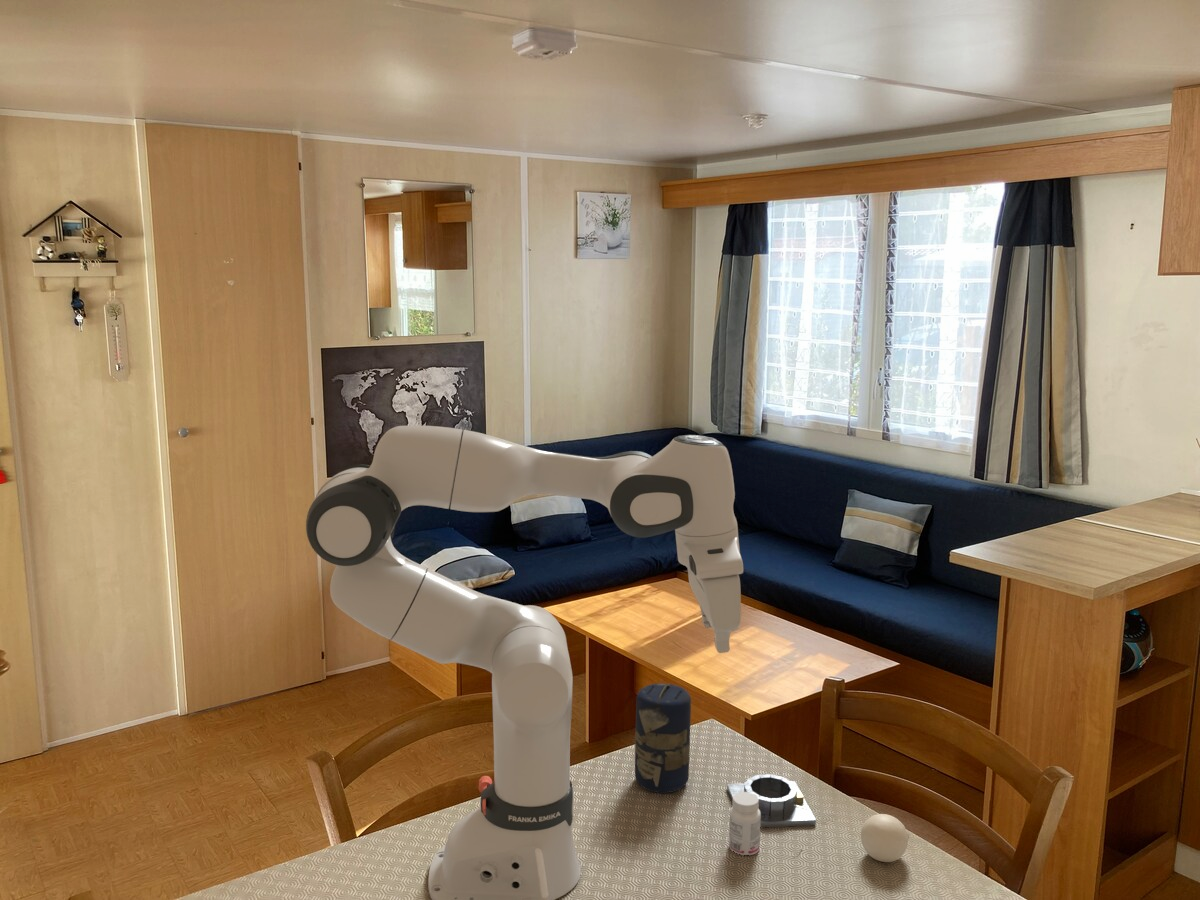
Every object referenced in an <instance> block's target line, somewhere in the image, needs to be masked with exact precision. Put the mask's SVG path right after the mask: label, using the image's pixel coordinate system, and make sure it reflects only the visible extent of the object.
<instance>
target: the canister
mask: <svg viewBox="0 0 1200 900" xmlns="http://www.w3.org/2000/svg"><path fill="white" fill-rule="evenodd" d="M635 704H636V705H635V708H636V709H635V735H634V738H635V739H634V776H635V780H636V781H637V783H638V784H639V786H641V787H642V788H644V789H646V790H648V791H651V792H655V793H672V792H676V791H678V790H681V789H682V788H684V787H685V786H686V784H687V783H688V781H689V777H690V749H691V747H690V746H691V720H692V719H691V716H692V715H691V713H692V711H691V710H692V697H691V695H690V693H689V692H688V691H687V690H686V689H685V688H683V687H681V686H679V685H675V684H672V683H665V682H664V683H652V684H648V685H645V686H643V687H642V688H641V689H639V691H638V692H637V694H636V702H635Z"/></svg>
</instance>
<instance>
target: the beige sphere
mask: <svg viewBox="0 0 1200 900" xmlns="http://www.w3.org/2000/svg"><path fill="white" fill-rule="evenodd" d="M906 829H907V827H905V825H904V824H903V823H902V822H901V821H900V820H899V819H898V818H897V817H895V816H893V815H890V814H886V813H878V814H877V813H876V814H874V815H871V816H870V817H869V818H867V819H866V820H865V822H864V823H863V824H862V826H861V830H860V842H861V844H862V847H863V849H864V850H865V852H866V853H867V854H868V855H869V856H870V857H871V858H873V859H874V860H876V861H878V862H881V863H882V862H883V863H892V862H893V863H894V862H895V861H897V860H899V859H900V858H901V857H902V856H903V855H904V854H905V853H906V850H907V848H908V845H909V838H910V836H909V832H908V831H907V830H906Z"/></svg>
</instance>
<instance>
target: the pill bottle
mask: <svg viewBox="0 0 1200 900" xmlns="http://www.w3.org/2000/svg"><path fill="white" fill-rule="evenodd" d="M731 803H732V806H731V808H730V810H729V828H728V830H729V832H728V834H729V835H728V847H729V849H730V850H731V851H732V852H733V851H734V852H735V853H734V852H733V853H734V854H736V853H738V854H737V855H739V854H741V855H740V856H744V855H749V856H753V855H755V854H757V853H758V852H759V850H760V845H761V828H760V823H761V813H760V810H759V809H758V807H759V799H758V797H757V796H756V795H754V794H752V793H749V792H739V793H736V794H735V795H734V796H733V801H732V800H731Z"/></svg>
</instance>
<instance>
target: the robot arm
mask: <svg viewBox="0 0 1200 900" xmlns="http://www.w3.org/2000/svg"><path fill="white" fill-rule="evenodd" d="M733 474H734V473H733V468H732V462H731V458H730V454H729V450H728V448H727V447H726V445H724V443H723V442H721V441H719V440H717V439H716V438H714V437H709V436H705V435H700V434H699V435H698V434H697V435H696V434H685V435H678V436H675V437H674V438H673V439H672V440H671V441H670V442H669V444H667V445H666V446H665V447H663V448H662V449H661V450H660V451H658V452H657V453H656V454H654V455H650V454H648V453H646V452H644V451H640V450H639V451H638V450H629V451H623V452H618V453H615V454H612V455H606V456H588V455H579V454H572V453H564V452H558V451H557V452H556V451H549V450H542V449H537V448H534V447H529V446H526V445H523V444H520V443H516V442H513V441H510V440H507V439H503V438H500V437H498V436H493V435H490V434H485V433H481V432H478V431H474V430H468V429H461V428H457V427H446V426H437V425H436V426H435V425H397V426H394V427H392V428H390V429H388V430H387V431H386V432H385V433H384V434H383V435H382V436H381V438H380V440H379V441H378V443H377V445H376V447H375V450H374V454H373V459H372V462H371V464H370V465H369V464H352V465H350V466H345V467H344V468H342V469H340V470H338V471H336V472H335V474H333V475H332V476H331V477H330V478H329V479H328V480H327V481H326V482H325V483H324V484H323V485H322V486H321V487H320V489H319V490H318V492H317V493H316V496H315V498H314V500H313V502H312V503H311V504H310V507H309V509H308V511H307V515H306V521H305V531H306V532H305V533H306V536H307V539H308V543H309V545H310V546H311V548H312V549H313V551H314V552H315V553H316V555H318V556H319V557H320V558H321V559H323V560H324V561H326V562H328V563H331V564H332V565H336V566H335V568H334V570H333V572H332V575H331V578H330V583H329V584H330V585H329V594H330V598H331V601H332V603H333V605H335V606H336V607H337V608H338V609H339V610H341V612H343V613H344V614H345V615H347V616H348V617H350V618H352V619H353V620H354V621H356V622H357V623H359V624H360V625H362V626H363V627H365V628H367V629H368V630H369V631H371V632H374V633H376V634H377V635H379V636H381V637H383V638H386V639H387V640H389V641H391V642H393V643H396V644H398V645H400V646H402V647H405V648H406V649H408V650H411V651H412V652H415V653H417V654H419V655H420V656H423V657H425V658H427V659H430V660H432V661H433V662H436V663H438V664H444V665H445V664H446V665H448V664H451V663H452V664H453V663H456V664H462V665H465V666H467V665H468V666H472V667H475V668H476V667H477V668H480V669H483V670H485V671H488V672H489V673H490V674H491V695H492V726H493V727H492V728H493V768H494V769H493V770H494V771H493V774H494V775H493V776H494V779H493V780H492V778H491V777H490V776H489V775H483V776H481V777H480V779H479V780H478V791H479V793H480V806H478V808H475V810H473V811H472V812H470V813H469V814H467V815H465V816H464V817H462V818H461V819H459V820H457V821H456V822H455V823H454V824H453V826H452V827H451V830H450V831H449V834H448V836H447V839H446V842H445V845H443V846H442V847H441V848H439V849H438V850H437V852H436V853H435V855H434V856H433V858H432V861H431V862H430V866H429V870H428V871H429V872H428V880H427V887H428V888H427V889H428V894H429V896H430V899H431V900H556V899H559V898H561V897H563V896H564V895H566V894H567V893H569V892H570V891H571V890H573V888H575V886H576V885H577V884H578V883H579V880H580V878H581V873H582V868H581V865H580V862H579V861H580V860H579V858H578V855H577V852H576V847H575V841H574V835H573V827H572V823H573V821H574V820H573V819H574V812H575V811H574V809H575V807H574V805H575V804H574V801H575V799H574V795H575V793H574V788H573V783H572V781H571V779H570V778H571V763H570V762H571V759H570V757H571V746H570V744H571V727H572V725H571V724H572V709H573V677H574V676H573V670H572V664H571V663H572V662H571V659H570V653H569V650H568V649H569V648H568V642H567V636H566V633H565V631H564V629H563V627H562V625H561V624H560V622H559V621H558V620H557V618H556V617H555V616H554V615H553V614H552V613H551V612H550V611H548V610H547V609H545V608H543V607H541V606H537V605H533V604H532V605H531V604H530V605H529V604H528V605H527V604H526V605H523V604H519V603H517V602H512V601H510V600H507V599H501V598H498V597H495V596H492V595H487V594H484V593H481V592H479V591H476V590H474V589H472V588H470V587H468V586H466V585H464V584H461V583H459V582H458V581H455V580H453V579H451V578H449V577H447V576H445V575H443V574H440V573H439V572H437V571H434V570H432V569H430V568H429V567H426V566H424V565H422V564H419V563H418V562H416V561H413V560H411V559H410V558H408V557H406V556H405V555H403V554H401V553H400V552H399V551H398V550H397V549H396V547H394V544H393V542H392V540H393V538H394V535H395V530H396V529H395V528H396V524H397V522H398V520H399V518H400V516H401V514H402V511H404V510H405V509H407V508H408V507H409V508H410V507H413V506H428V507H433V508H434V507H435V508H442V509H447V510H449V509H450V510H454V511H460V512H468V513H495V512H500V511H502V510H504V509H506V508H508V507H509V506H511V505H512V504H513V503H515V502H517V501H518V500H520V499H523V498H525V497H528V496H533V495H552V496H558V497H559V496H560V497H569V498H577V499H584V500H591V501H594V502H597V503H600V504H601V505H603V506H604V507H605V508H607V510H608V512H609V514H610V517H611V518H612V521H613V522H614V524H615V525H616V527H617V528H619V529H620V531H621V532H623V533H624V534H626V535H629V536H630V537H631V536H632V537H634V538H642V539H644V538H645V539H646V538H650V537H655V536H658V535H662V534H666V533H668V532H669V533H670V532H672V531H674V533H675V542H676V553H677V561H678V563H679V564H680V565H683V566H685V567H686V568H687V576H688V583H689V586H690V589H691V590H692V593H693V595H694V597H695V598H696V600H697V602H698V605H699V609H700V612H701V620H702V624H703V627H705V628H706V629H710V628H712V630H713V632H714V647H715V650H716V652H717V653H719V654H724V653H728V652H729V651H730V646H731V645H730V639H731V632H733V631H738V630H739V629H740V626H741V621H742V619H741V618H742V615H741V614H742V613H741V611H742V610H741V609H742V606H741V604H742V597H741V595H742V593H741V579H740V575H742V574H744V563H743V562H744V561H743V558H742V555H741V550H740V549H741V548H740V542H739V541H740V539H739V529H738V528H739V527H738V521H737V517H736V516H735V513H734V502H735V499H736V497H735V496H736V491H735V482H734V475H733Z"/></svg>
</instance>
